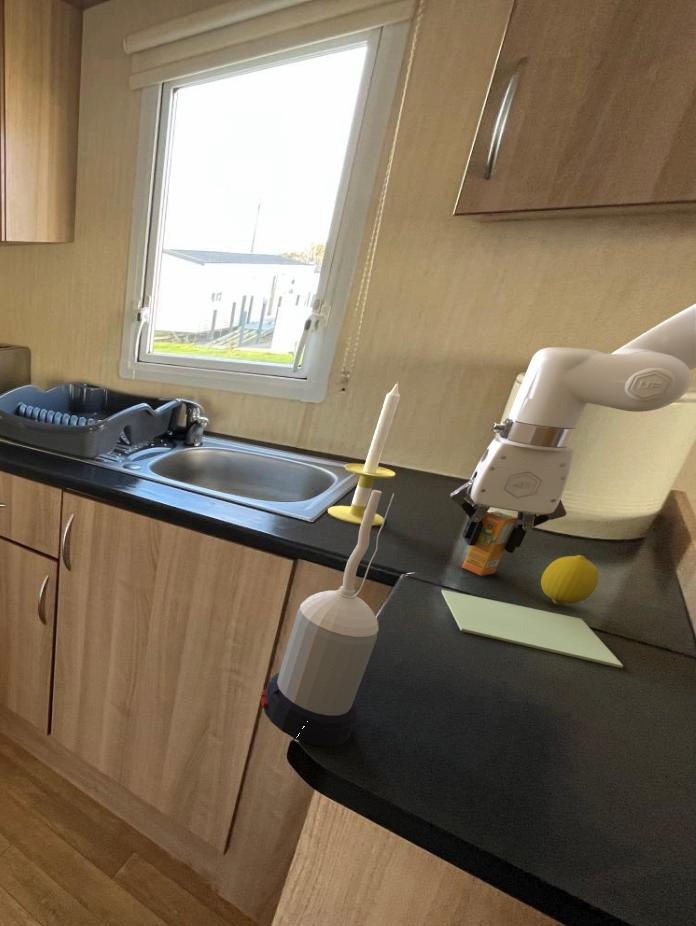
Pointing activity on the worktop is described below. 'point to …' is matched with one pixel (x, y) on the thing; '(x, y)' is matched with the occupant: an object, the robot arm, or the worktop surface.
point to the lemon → (569, 579)
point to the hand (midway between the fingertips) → (488, 545)
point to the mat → (528, 627)
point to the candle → (370, 467)
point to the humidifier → (326, 657)
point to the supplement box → (490, 543)
